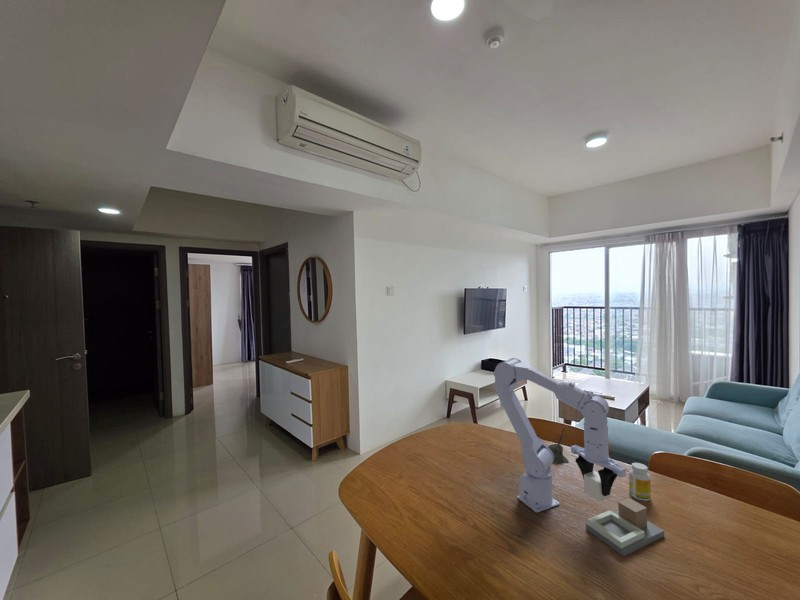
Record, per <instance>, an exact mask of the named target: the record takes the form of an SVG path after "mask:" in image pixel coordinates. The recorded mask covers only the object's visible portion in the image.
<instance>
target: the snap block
mask: <svg viewBox="0 0 800 600" xmlns="http://www.w3.org/2000/svg"><path fill="white" fill-rule="evenodd" d="M611 491H612V490H611ZM611 491H610V495H607V496H603V495H602V489H601V480H600V476H599V473H598V471H595V470H593V472H590V473H587V474H584V479H583V492H584V493H585V494H586V495H588V496H590V497H591V498H593V499H594V500H596V501H598V502H602V501H604V500H607V499H609V498H612V497H611V496H612V492H611Z"/></svg>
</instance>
